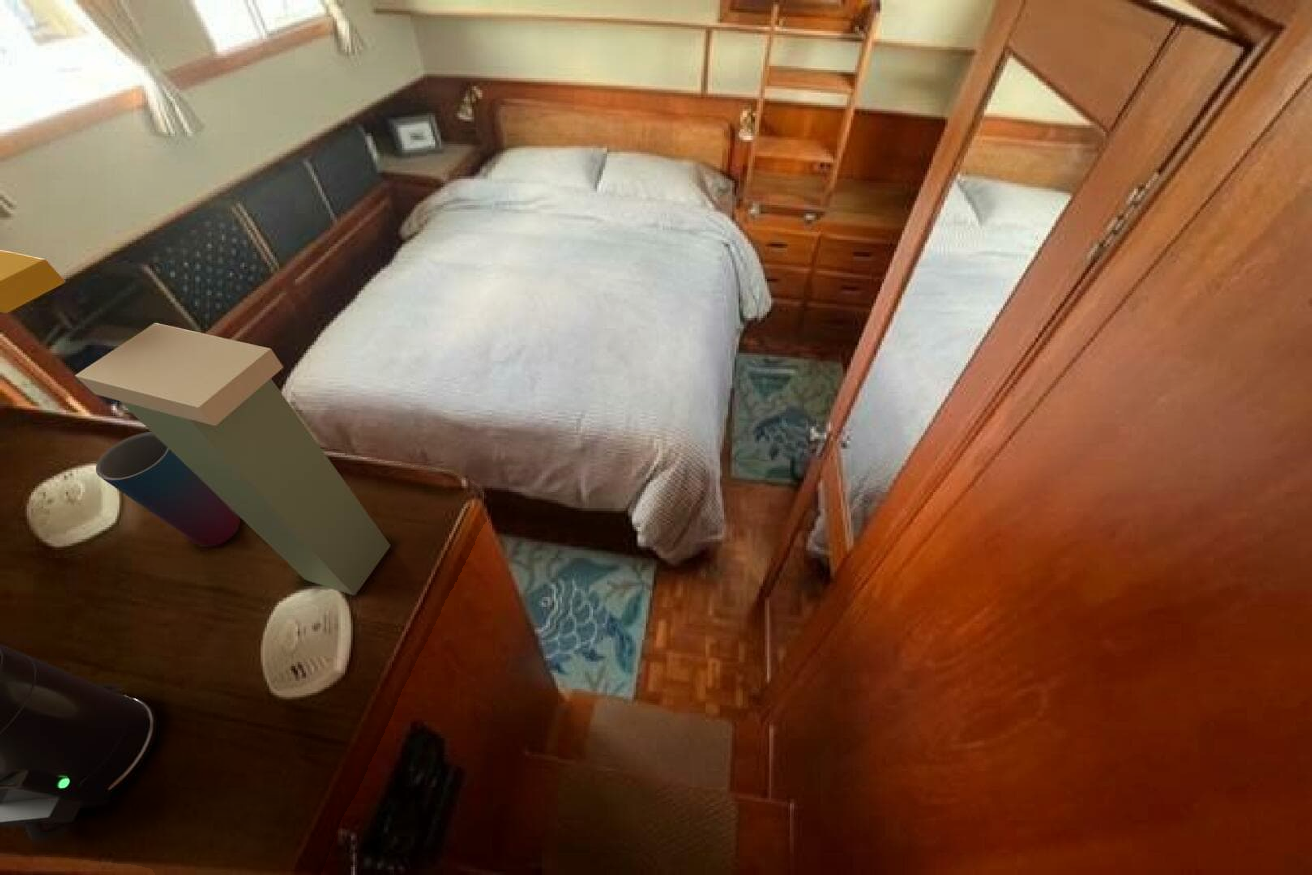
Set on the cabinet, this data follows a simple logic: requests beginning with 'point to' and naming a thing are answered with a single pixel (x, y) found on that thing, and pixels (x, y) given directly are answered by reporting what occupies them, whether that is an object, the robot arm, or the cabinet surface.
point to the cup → (167, 489)
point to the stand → (244, 446)
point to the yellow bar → (24, 279)
